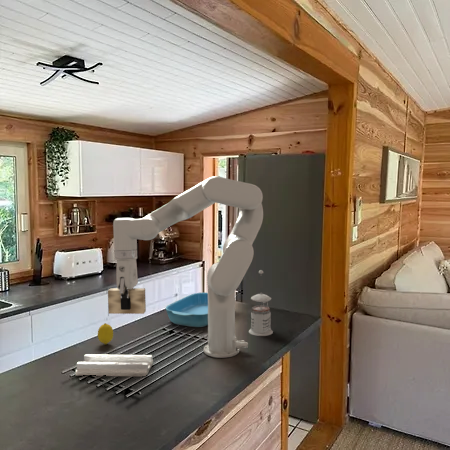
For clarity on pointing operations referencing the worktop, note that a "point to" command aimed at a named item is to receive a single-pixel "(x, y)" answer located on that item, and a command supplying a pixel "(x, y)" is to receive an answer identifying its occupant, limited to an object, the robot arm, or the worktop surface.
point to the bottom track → (114, 365)
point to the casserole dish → (190, 310)
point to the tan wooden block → (135, 298)
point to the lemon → (105, 333)
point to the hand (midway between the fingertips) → (127, 307)
